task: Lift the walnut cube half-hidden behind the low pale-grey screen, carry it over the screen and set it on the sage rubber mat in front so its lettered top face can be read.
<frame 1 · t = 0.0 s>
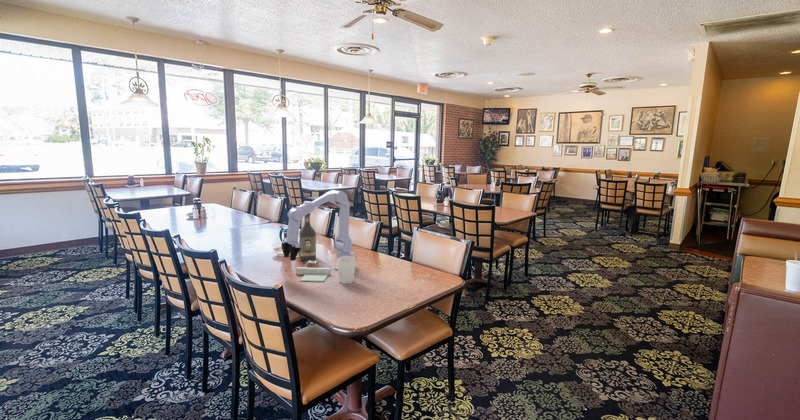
hand: (289, 258, 191), 11 cm above the table, tool pointing down, fingers open, 7 cm apart
sage mat: (314, 278, 193), on the table
walnut cube: (312, 270, 206), on the table
cup: (346, 282, 190), on the table
liquor: (307, 258, 228), on the table
grey screen: (313, 274, 200), on the table
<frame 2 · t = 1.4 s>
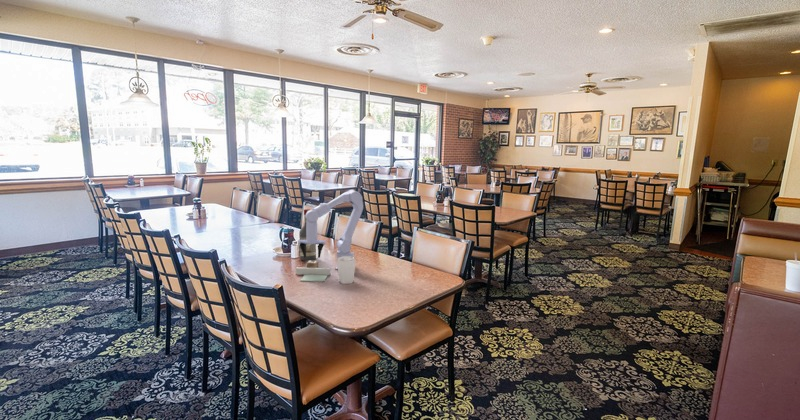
hand: (312, 257, 205), 8 cm above the table, tool pointing down, fingers open, 7 cm apart
nothing on the table moved.
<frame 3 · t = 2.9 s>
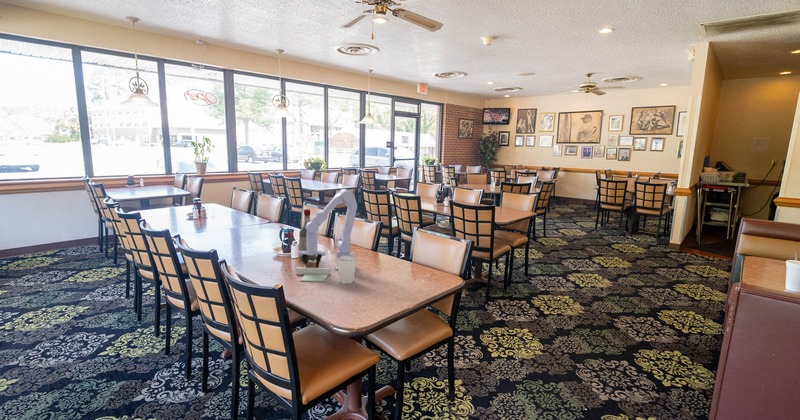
hand: (312, 268, 206), 1 cm above the table, tool pointing down, fingers closed on walnut cube, 5 cm apart
walnut cube: (312, 270, 206), on the table, touching gripper
everything else where it was.
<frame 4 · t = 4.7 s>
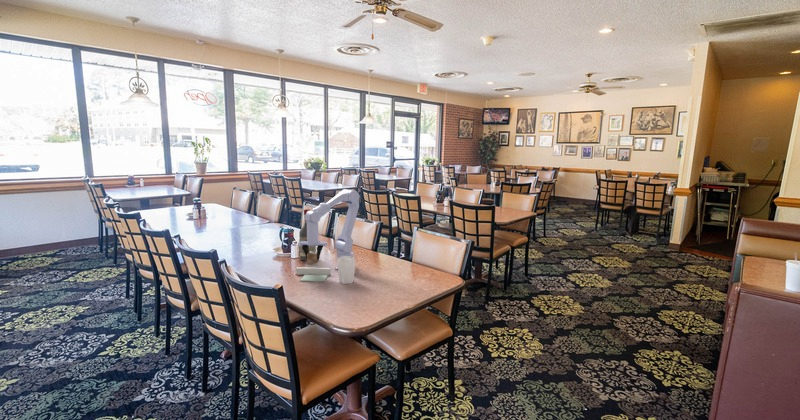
hand: (312, 259, 198), 8 cm above the table, tool pointing down, fingers closed on walnut cube, 5 cm apart
walnut cube: (313, 262, 198), point 7 cm above the table, touching gripper
everything else where it was.
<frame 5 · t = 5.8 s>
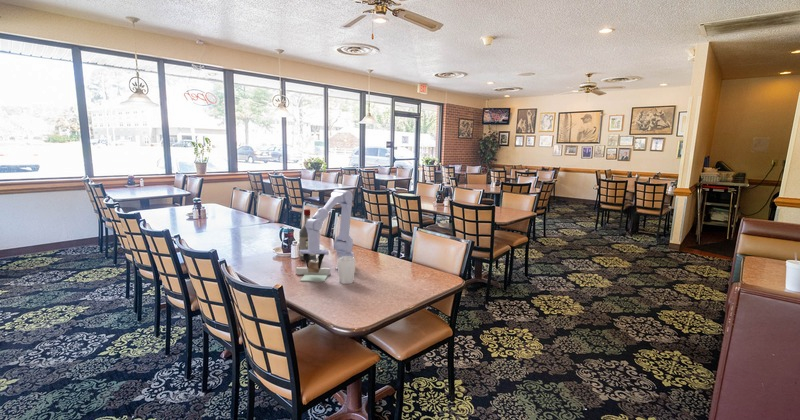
hand: (314, 268, 192), 6 cm above the table, tool pointing down, fingers closed on walnut cube, 5 cm apart
walnut cube: (314, 271, 193), point 4 cm above the table, touching gripper
everything else where it was.
when the fingers open (4 cm above the table, at t = 6.7 s): walnut cube drops 1 cm, resting on sage mat.
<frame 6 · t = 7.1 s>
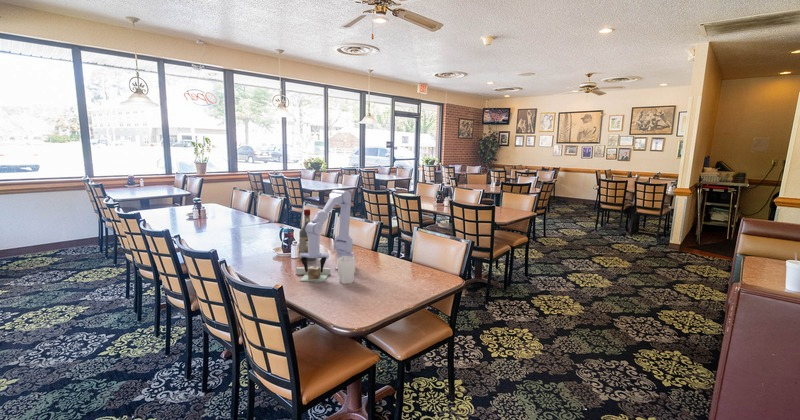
hand: (314, 271, 193), 4 cm above the table, tool pointing down, fingers open, 7 cm apart
walnut cube: (314, 277, 193), point 1 cm above the table, touching sage mat
everything else where it was.
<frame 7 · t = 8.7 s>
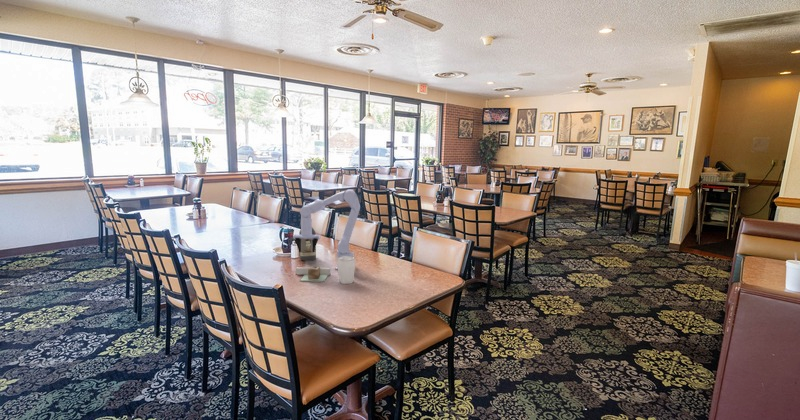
hand: (306, 251, 209), 9 cm above the table, tool pointing down, fingers open, 7 cm apart
nothing on the table moved.
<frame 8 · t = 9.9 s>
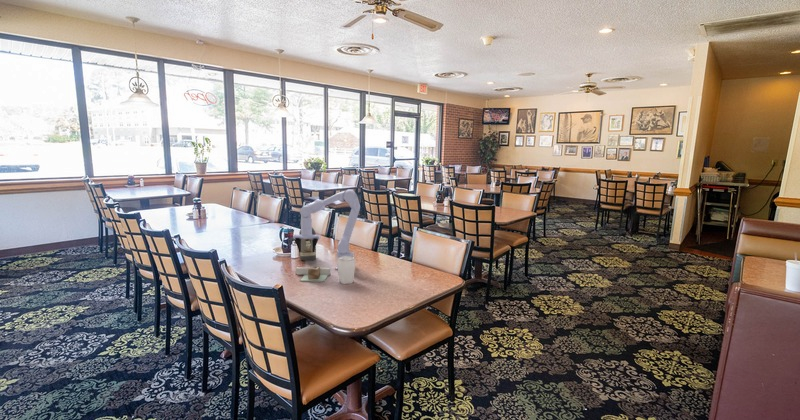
hand: (306, 251, 209), 9 cm above the table, tool pointing down, fingers open, 7 cm apart
nothing on the table moved.
at the end: walnut cube inside the target area on the sage mat (0.3 cm from its centre), point 0.6 cm above the sage mat's base; walnut cube tilted 0°; the gripper is holding nothing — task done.
